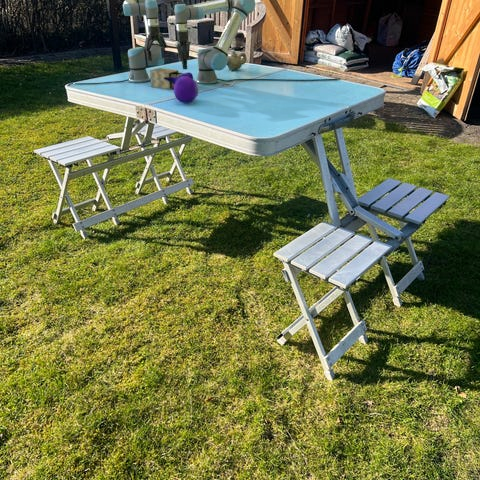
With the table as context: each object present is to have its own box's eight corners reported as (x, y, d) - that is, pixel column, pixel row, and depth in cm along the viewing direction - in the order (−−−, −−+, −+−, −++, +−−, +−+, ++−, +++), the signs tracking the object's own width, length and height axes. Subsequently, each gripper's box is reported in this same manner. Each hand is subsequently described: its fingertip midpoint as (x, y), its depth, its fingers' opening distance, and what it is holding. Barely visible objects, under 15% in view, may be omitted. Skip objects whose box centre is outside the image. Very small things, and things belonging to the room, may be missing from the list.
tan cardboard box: (179, 86, 319) (178, 70, 314) (169, 89, 312) (168, 72, 306) (161, 84, 328) (159, 68, 322) (151, 86, 321) (149, 70, 315)
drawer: (194, 87, 311) (193, 73, 307) (186, 90, 305) (185, 75, 300) (170, 84, 322) (169, 70, 318) (161, 86, 316) (160, 72, 311)
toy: (187, 94, 295) (198, 108, 275) (161, 90, 288) (170, 104, 267) (192, 70, 287) (203, 83, 267) (165, 65, 280) (175, 77, 259)
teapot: (227, 72, 362) (226, 52, 355) (220, 70, 371) (219, 51, 363) (249, 69, 371) (249, 50, 364) (242, 67, 380) (242, 48, 372)
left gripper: (144, 27, 292) (148, 62, 303) (170, 24, 310) (172, 57, 321) (136, 27, 296) (140, 61, 307) (161, 24, 314) (165, 56, 324)
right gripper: (179, 32, 285) (183, 71, 297) (193, 30, 294) (195, 68, 306) (171, 31, 289) (174, 70, 301) (184, 29, 298) (187, 67, 310)
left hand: (156, 59), depth 314 cm, fingers open, 13 cm apart
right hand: (185, 69), depth 303 cm, fingers closed
